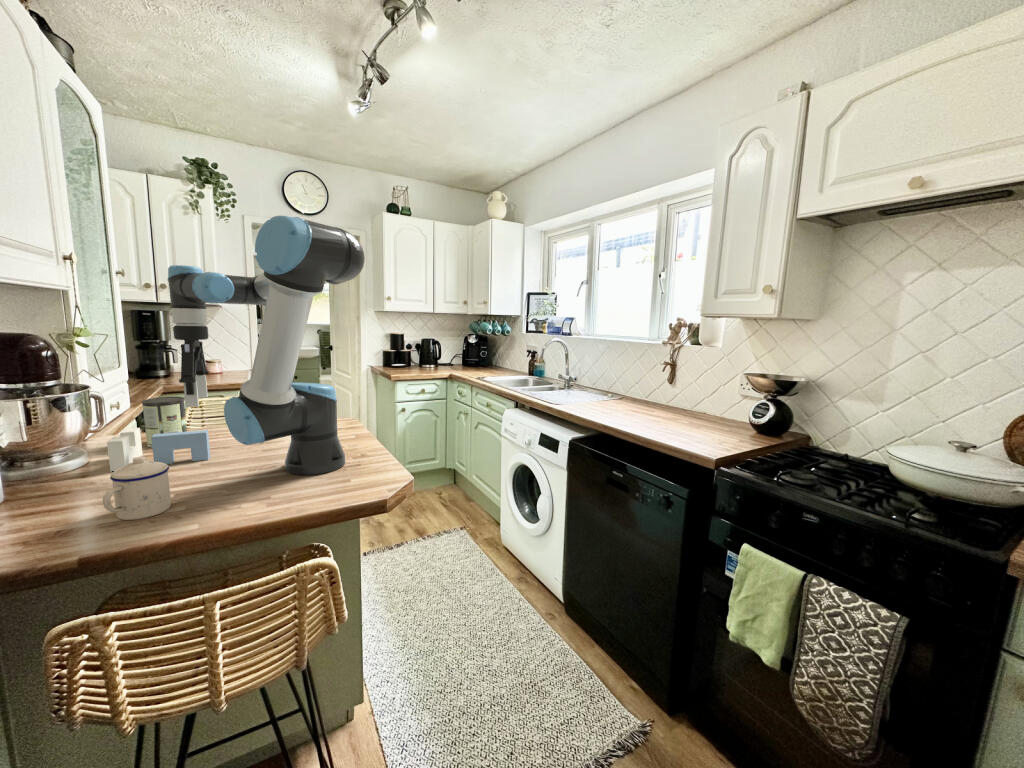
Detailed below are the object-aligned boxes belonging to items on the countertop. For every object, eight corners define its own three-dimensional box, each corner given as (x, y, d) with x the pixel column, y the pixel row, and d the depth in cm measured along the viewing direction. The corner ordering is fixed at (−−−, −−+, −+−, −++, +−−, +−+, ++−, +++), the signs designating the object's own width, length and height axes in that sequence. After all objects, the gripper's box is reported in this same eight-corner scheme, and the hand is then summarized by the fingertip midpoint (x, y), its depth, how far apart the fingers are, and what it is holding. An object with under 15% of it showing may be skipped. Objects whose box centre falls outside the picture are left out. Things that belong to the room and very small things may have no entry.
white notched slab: (125, 470, 110) (122, 440, 109) (110, 471, 109) (106, 441, 107) (142, 454, 122) (139, 427, 121) (129, 455, 121) (126, 428, 120)
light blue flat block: (208, 459, 119) (206, 432, 118) (154, 465, 114) (151, 437, 112) (210, 456, 122) (207, 430, 121) (157, 462, 116) (154, 434, 115)
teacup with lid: (145, 500, 93) (140, 449, 91) (183, 503, 92) (178, 452, 90) (86, 526, 81) (78, 468, 79) (129, 530, 80) (122, 471, 78)
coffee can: (167, 437, 139) (163, 395, 137) (196, 439, 138) (192, 397, 136) (137, 446, 129) (132, 401, 127) (168, 448, 128) (163, 403, 126)
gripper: (183, 323, 123) (190, 395, 126) (160, 325, 101) (168, 412, 105) (214, 324, 127) (220, 393, 130) (198, 326, 105) (205, 409, 108)
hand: (197, 402), depth 117 cm, fingers open, 13 cm apart
